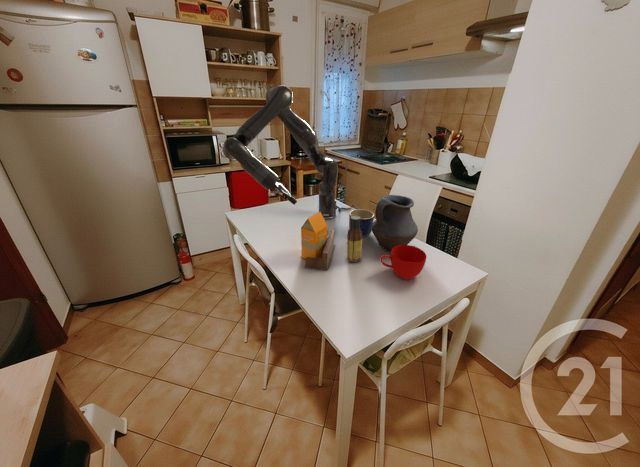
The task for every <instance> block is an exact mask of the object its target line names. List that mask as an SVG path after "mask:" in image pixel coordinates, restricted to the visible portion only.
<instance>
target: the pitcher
mask: <svg viewBox="0 0 640 467" xmlns="http://www.w3.org/2000/svg"><path fill="white" fill-rule="evenodd" d="M414 205H415V202H414V199H412V198H410V197H409V196H405V195H397V194H386V195H384V196H382V197H381V198H380V200H378V202H377V204H376V206H375V212H374V217H375V219H374V221H373V224H372V227H371V229H372V231H371V233H372V234H373V236H374V238H375V239H376V242H377V244H378V245H379V247H380V248H382V249H383V250H385V251H387V252H391V251H392V249H393V248H394V247H395V246H398V245H409V244H410V243H411V242H412V241H413V240H414V239H415V238H416V237H417V234H418V232H419V226H418V225H417V223H416V221H415V220H414V218H413V215H412V211H411V208H413V207H414Z"/></svg>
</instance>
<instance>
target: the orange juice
mask: <svg viewBox="0 0 640 467" xmlns="http://www.w3.org/2000/svg"><path fill="white" fill-rule="evenodd" d="M328 226H329V225H328V224H327V222H326V219H324V218H323V216H322V214H321V211H320V212H319V211H318V212H317V213H314V214H313V215H311V216H309V217H308V218H307V219H306V220H305V222H304V223H303V224H302V226H301V227H300V234H301V235H300V239H301V240H300V241H301V242H300V243H301V244H300V245H301V258H302V259H305V260H306V257H312V258H321V259H323V250H324V248H325V245H326V242H327V239H328V235H329V234H328V231H329V228H328Z"/></svg>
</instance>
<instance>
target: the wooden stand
mask: <svg viewBox="0 0 640 467" xmlns="http://www.w3.org/2000/svg"><path fill="white" fill-rule="evenodd" d="M335 232H336V231H335V230H329V234H328V235H327V238H328V239H327V242H326V245H325V248H324V250H323V258H322V259H321V258H312V257H306V259H305V268H306V269H313V270H322V271H323V270H325V271H328V268H329V265H330V263H331V262H330V261H331V258H332V255H333V251H334V248H335Z"/></svg>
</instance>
